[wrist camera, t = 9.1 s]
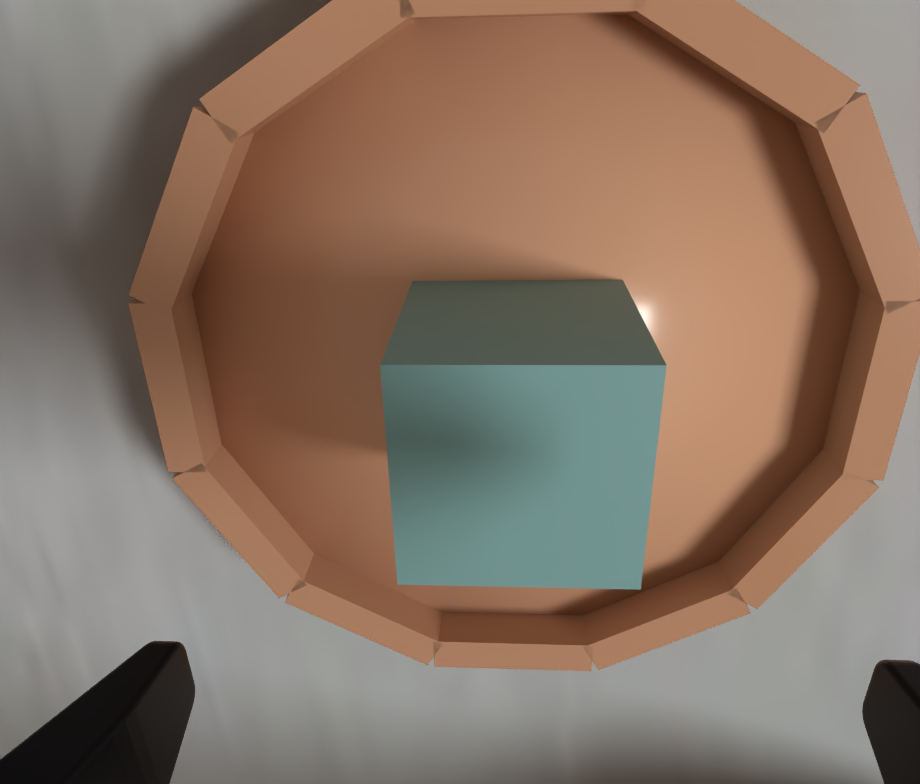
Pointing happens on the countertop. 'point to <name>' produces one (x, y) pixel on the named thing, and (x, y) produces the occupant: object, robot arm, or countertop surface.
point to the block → (521, 433)
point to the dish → (531, 258)
